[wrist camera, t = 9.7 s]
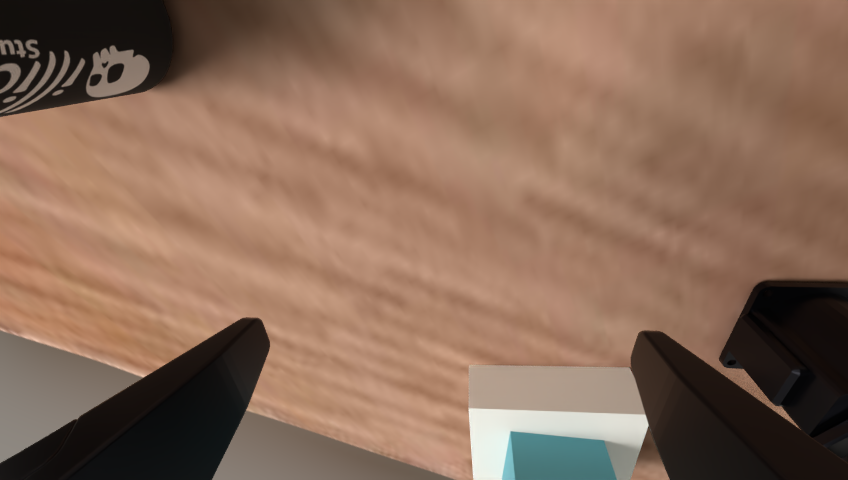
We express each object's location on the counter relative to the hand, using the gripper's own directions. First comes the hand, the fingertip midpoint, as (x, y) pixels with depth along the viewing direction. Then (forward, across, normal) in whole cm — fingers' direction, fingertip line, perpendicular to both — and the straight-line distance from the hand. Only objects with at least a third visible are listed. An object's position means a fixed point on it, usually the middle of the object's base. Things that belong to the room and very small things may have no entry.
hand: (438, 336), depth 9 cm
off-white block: (+12, -6, +20) cm, 24 cm away
